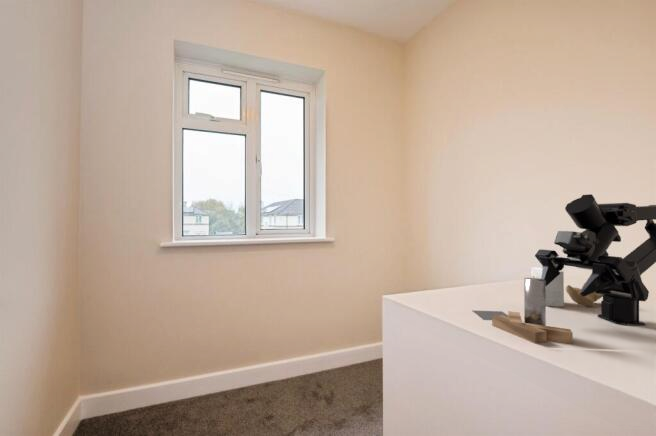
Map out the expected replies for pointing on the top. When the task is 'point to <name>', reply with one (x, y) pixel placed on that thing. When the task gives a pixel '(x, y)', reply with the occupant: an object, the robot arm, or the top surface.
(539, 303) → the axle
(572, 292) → the tan curved shape
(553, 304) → the small box
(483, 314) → the mat
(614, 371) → the top surface
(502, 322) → the v block
